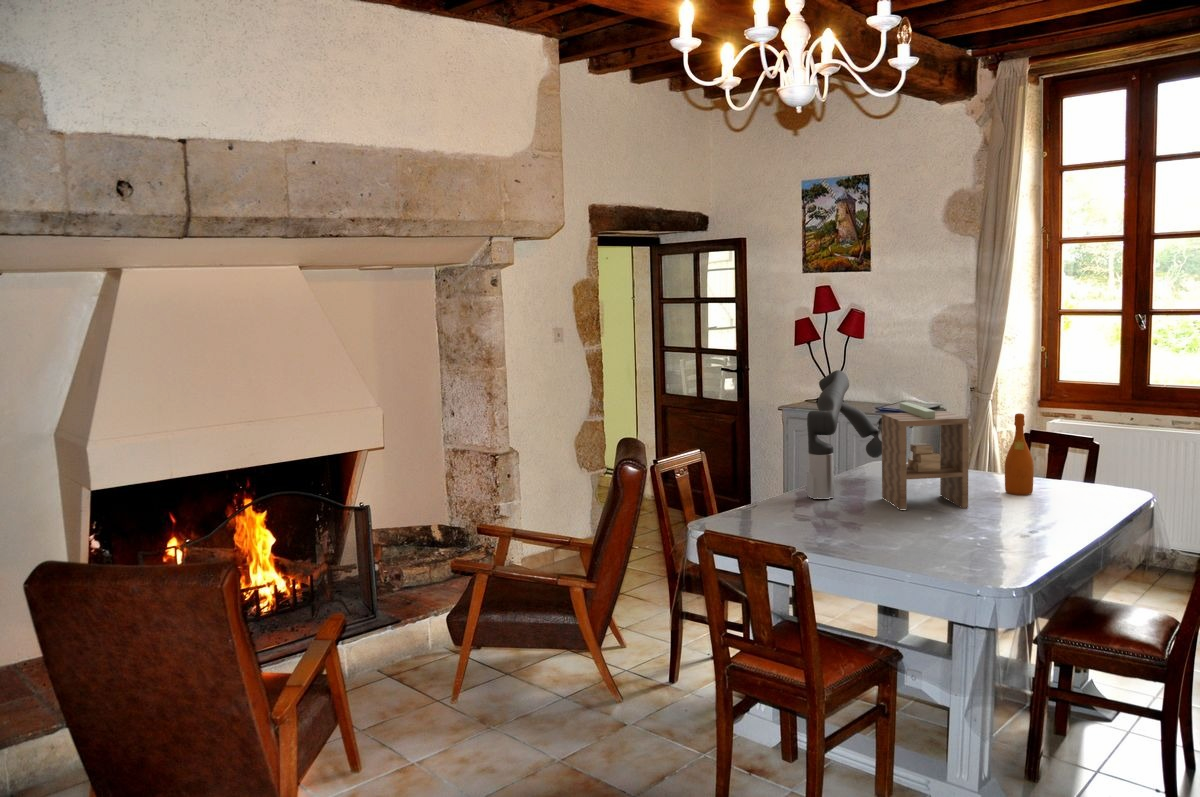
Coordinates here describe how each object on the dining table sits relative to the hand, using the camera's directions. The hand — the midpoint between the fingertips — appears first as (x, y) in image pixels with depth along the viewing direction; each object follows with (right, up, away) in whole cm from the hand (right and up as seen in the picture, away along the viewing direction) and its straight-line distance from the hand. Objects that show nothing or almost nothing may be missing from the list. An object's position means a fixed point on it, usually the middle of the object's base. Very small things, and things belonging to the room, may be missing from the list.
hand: (902, 415), depth 364 cm
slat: (0, +1, -15) cm, 15 cm away
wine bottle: (+41, -29, -8) cm, 51 cm away
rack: (+2, -31, -18) cm, 37 cm away
